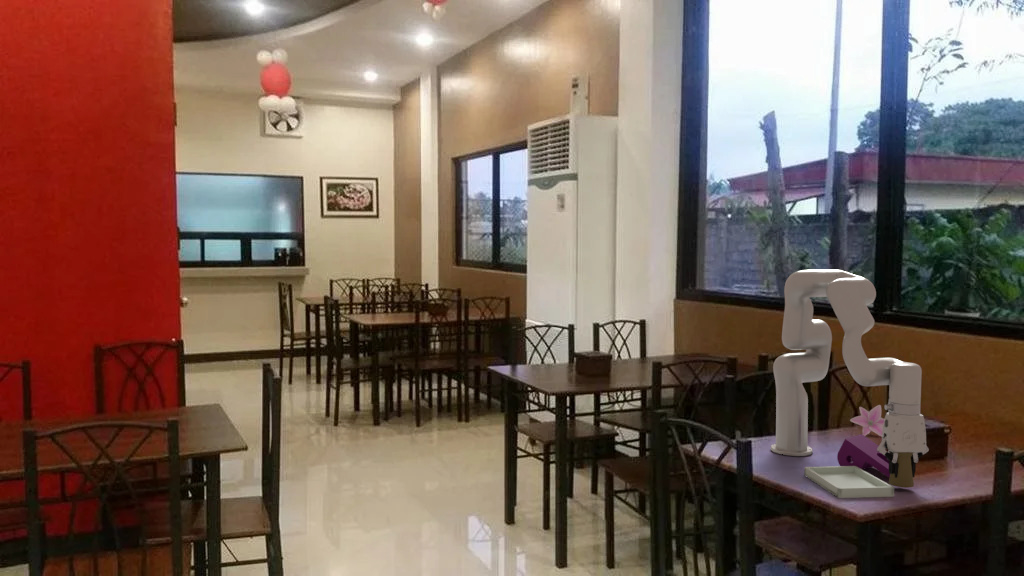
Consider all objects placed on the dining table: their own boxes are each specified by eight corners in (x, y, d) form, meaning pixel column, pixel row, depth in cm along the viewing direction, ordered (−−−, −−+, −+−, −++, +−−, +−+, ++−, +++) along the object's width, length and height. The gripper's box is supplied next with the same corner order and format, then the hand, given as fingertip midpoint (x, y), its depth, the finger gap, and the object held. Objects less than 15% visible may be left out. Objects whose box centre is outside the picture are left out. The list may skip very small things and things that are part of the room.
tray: (804, 475, 218) (804, 467, 218) (855, 474, 218) (855, 465, 218) (838, 498, 198) (838, 488, 198) (894, 496, 199) (894, 487, 198)
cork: (908, 480, 207) (909, 441, 206) (917, 487, 201) (919, 447, 200) (885, 479, 208) (886, 440, 207) (893, 487, 202) (895, 446, 201)
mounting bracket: (903, 495, 218) (849, 456, 231) (917, 472, 215) (861, 434, 228) (887, 501, 213) (832, 461, 225) (900, 478, 209) (845, 438, 222)
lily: (844, 435, 269) (849, 415, 264) (857, 418, 276) (862, 397, 271) (879, 451, 262) (885, 430, 257) (891, 432, 270) (897, 412, 264)
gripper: (881, 412, 199) (879, 481, 200) (943, 411, 200) (940, 480, 201) (866, 406, 206) (864, 472, 208) (926, 405, 207) (923, 471, 209)
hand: (901, 475), depth 204 cm, fingers closed on cork, 3 cm apart
